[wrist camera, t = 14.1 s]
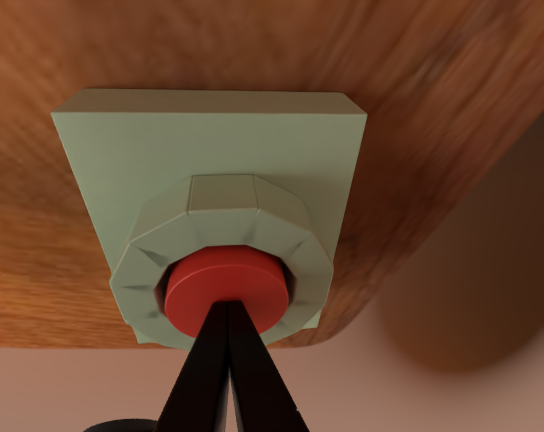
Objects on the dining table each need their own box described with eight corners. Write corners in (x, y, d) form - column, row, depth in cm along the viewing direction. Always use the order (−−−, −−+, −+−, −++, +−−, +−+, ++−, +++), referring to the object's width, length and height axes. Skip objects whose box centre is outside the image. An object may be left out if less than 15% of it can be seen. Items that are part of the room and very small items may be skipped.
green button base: (306, 290, 16) (328, 365, 13) (148, 302, 15) (128, 387, 12) (343, 92, 10) (399, 140, 7) (82, 87, 9) (6, 142, 6)
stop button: (275, 289, 12) (284, 337, 10) (180, 296, 11) (174, 347, 10) (281, 215, 10) (294, 261, 8) (165, 220, 9) (153, 269, 8)
